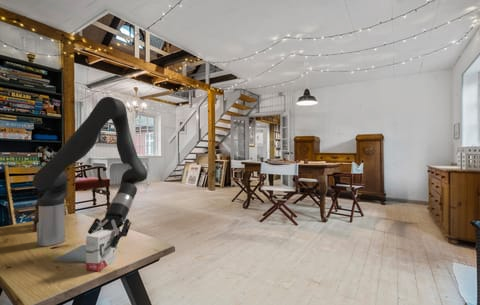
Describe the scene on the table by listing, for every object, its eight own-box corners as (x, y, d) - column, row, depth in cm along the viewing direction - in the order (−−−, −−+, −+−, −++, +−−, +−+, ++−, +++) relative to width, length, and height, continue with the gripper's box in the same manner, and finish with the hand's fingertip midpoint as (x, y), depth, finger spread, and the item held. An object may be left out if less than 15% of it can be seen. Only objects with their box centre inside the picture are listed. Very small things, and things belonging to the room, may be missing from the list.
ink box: (97, 271, 80) (97, 237, 80) (85, 270, 81) (85, 236, 81) (116, 260, 89) (115, 228, 89) (104, 259, 90) (104, 228, 90)
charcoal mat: (53, 261, 88) (53, 259, 88) (82, 246, 102) (82, 245, 102) (93, 263, 87) (93, 261, 87) (117, 247, 101) (117, 246, 101)
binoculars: (34, 224, 134) (34, 189, 134) (53, 221, 139) (52, 187, 139) (32, 233, 120) (31, 193, 120) (52, 229, 125) (52, 191, 125)
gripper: (98, 201, 94) (76, 241, 83) (132, 202, 93) (114, 242, 81) (107, 211, 100) (88, 250, 88) (140, 212, 98) (124, 251, 87)
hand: (100, 246), depth 85 cm, fingers open, 8 cm apart
